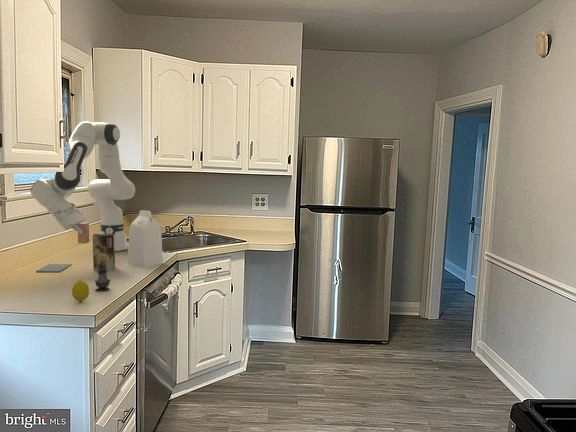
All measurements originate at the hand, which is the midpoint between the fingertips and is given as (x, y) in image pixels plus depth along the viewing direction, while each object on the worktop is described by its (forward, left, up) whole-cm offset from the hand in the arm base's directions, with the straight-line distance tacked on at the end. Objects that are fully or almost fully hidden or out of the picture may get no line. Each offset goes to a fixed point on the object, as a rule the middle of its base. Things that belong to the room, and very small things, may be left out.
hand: (84, 231), depth 209 cm
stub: (0, -1, -5) cm, 5 cm away
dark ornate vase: (+35, +17, -17) cm, 43 cm away
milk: (-12, +24, -17) cm, 32 cm away
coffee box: (0, +8, -17) cm, 19 cm away
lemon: (+51, +14, -17) cm, 56 cm away
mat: (0, -14, -17) cm, 22 cm away
